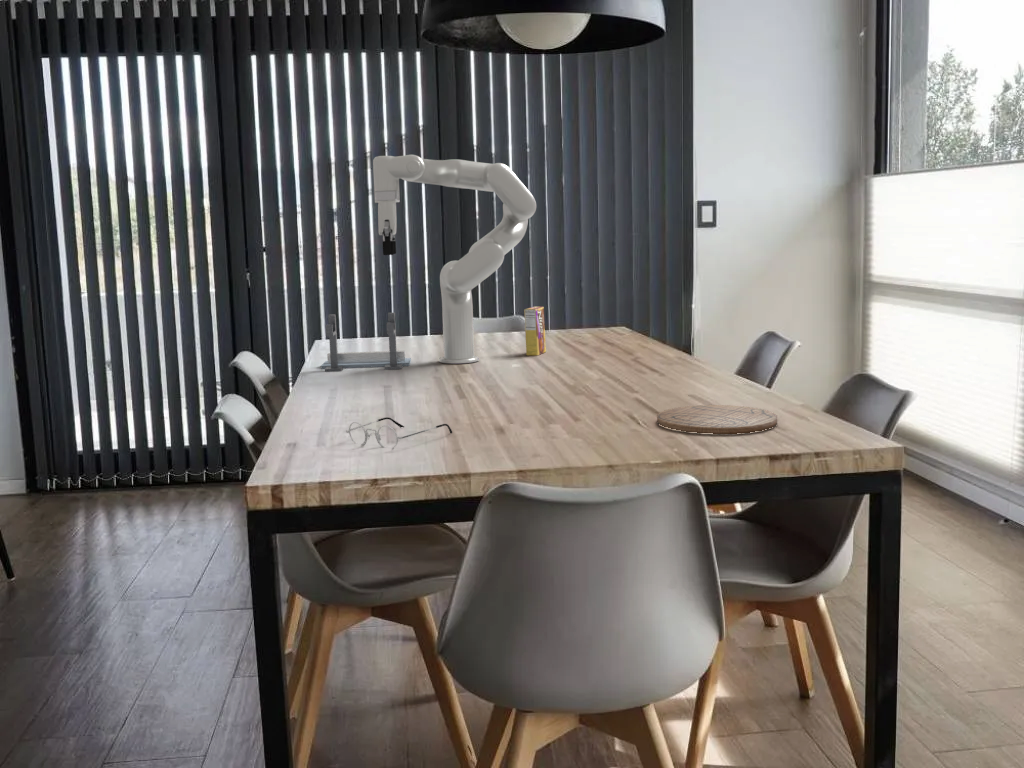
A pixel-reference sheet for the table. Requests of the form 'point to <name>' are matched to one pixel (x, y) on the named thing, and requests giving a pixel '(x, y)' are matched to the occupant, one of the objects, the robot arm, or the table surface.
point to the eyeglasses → (389, 427)
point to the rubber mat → (367, 364)
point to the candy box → (535, 331)
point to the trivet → (717, 419)
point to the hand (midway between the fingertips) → (389, 254)
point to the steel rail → (367, 357)
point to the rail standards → (334, 352)
